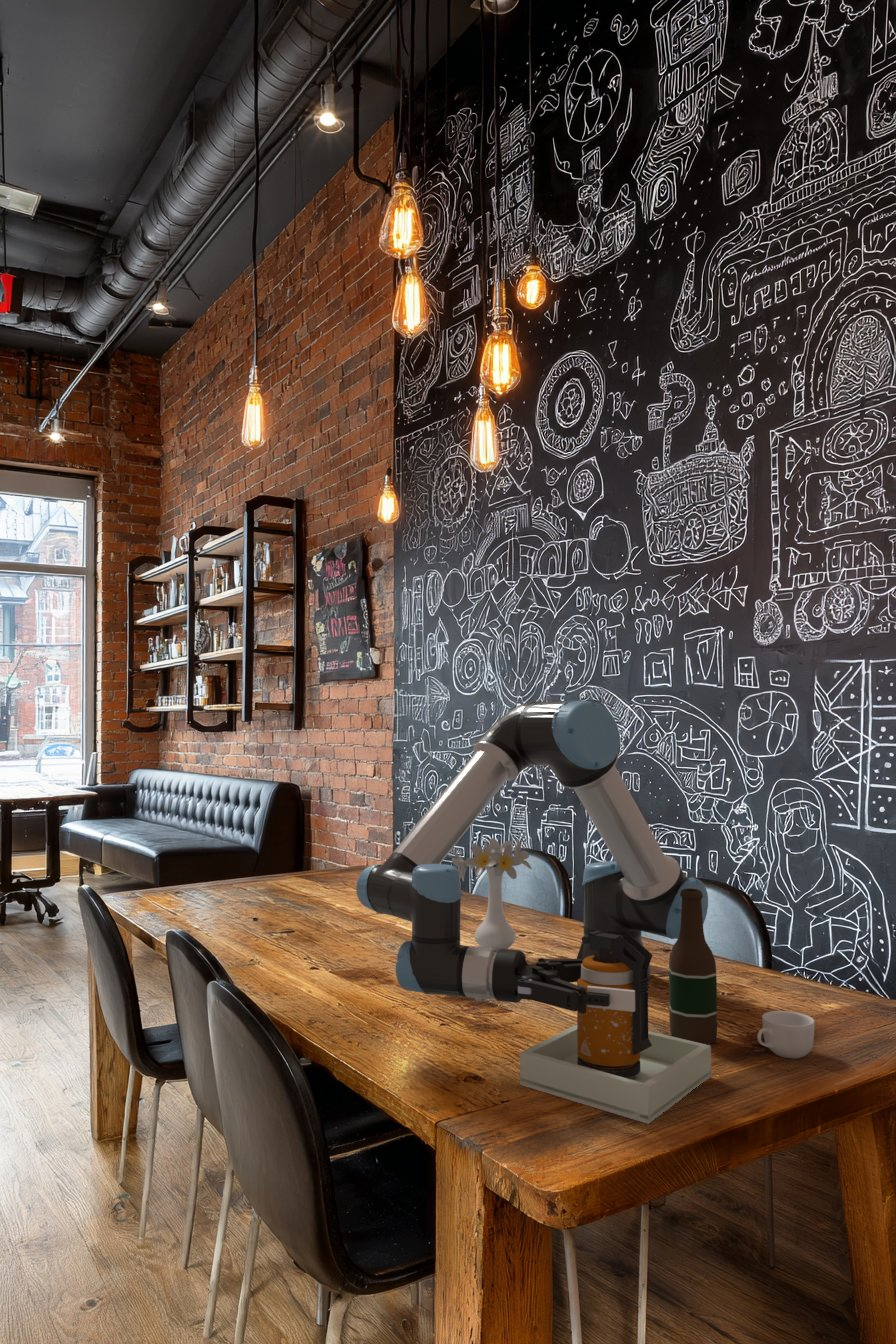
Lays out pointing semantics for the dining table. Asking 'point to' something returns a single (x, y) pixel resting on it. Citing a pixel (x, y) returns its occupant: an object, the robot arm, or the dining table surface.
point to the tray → (641, 1097)
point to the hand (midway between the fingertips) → (641, 988)
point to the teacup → (787, 1033)
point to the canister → (614, 1033)
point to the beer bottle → (692, 977)
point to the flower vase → (494, 888)
